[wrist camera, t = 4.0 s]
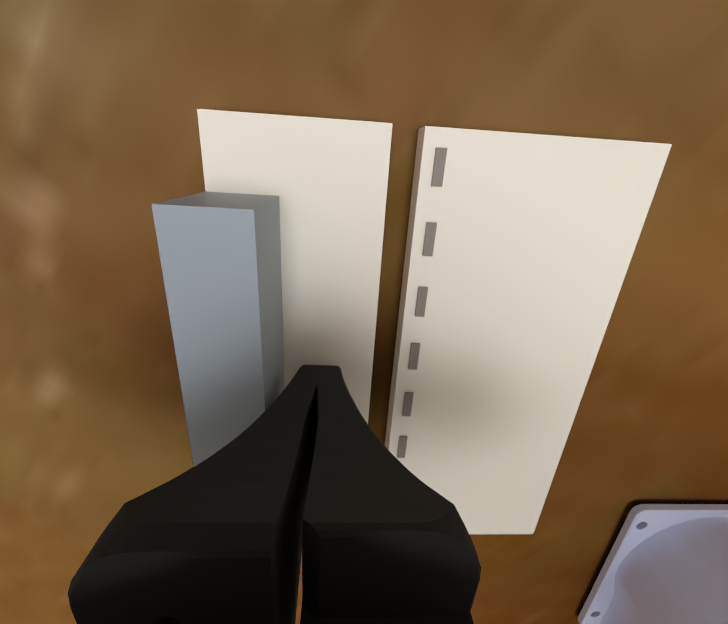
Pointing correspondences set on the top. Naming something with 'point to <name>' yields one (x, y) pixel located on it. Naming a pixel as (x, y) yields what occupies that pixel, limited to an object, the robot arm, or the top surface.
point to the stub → (273, 263)
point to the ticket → (508, 307)
